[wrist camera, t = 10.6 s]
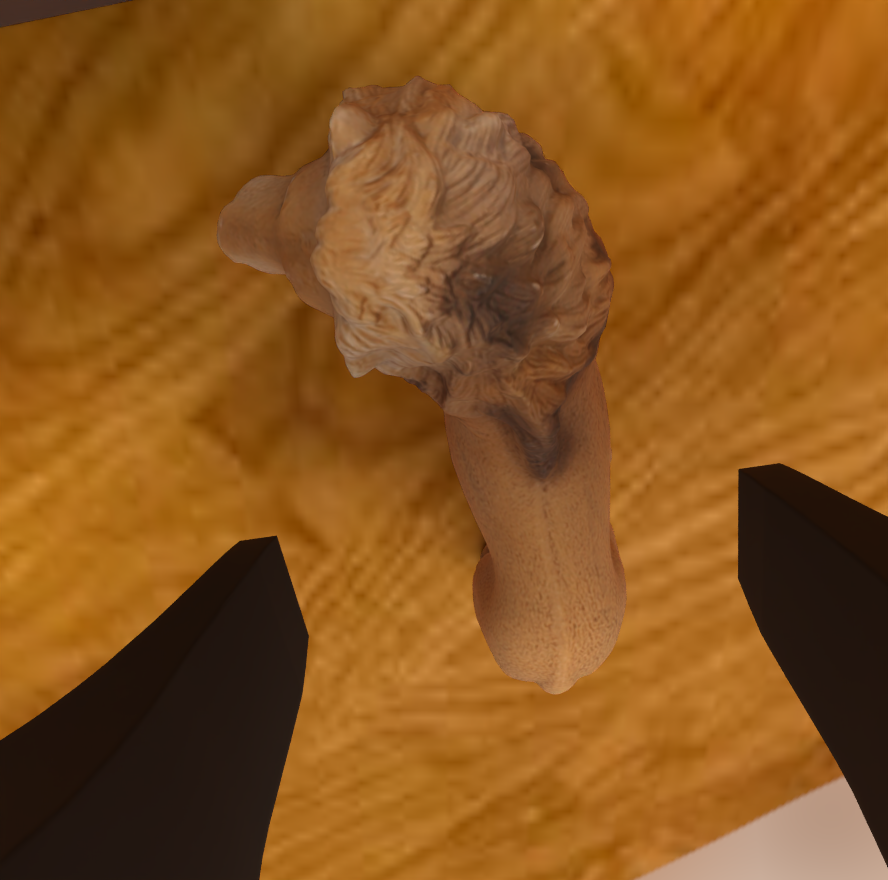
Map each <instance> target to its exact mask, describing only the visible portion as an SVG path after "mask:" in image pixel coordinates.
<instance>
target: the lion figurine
mask: <svg viewBox="0 0 888 880" xmlns="http://www.w3.org/2000/svg"><path fill="white" fill-rule="evenodd" d="M343 98H344V100H342V101H341V102H340V104H339V106H337V107H335V109H334V111H333V114H332V116H331V118H330V123H329V128H330V131H329V134H328V144H329V149H328V150H327V152H326V153H325V154H324V155H323V156H322V157H321V158H319V159H317V160H315V161H313V162H310V163H308V164H306V165H304V166H303V167H301V168H300V169H299V170H298V171H297V172H296V173H295V174H294V175H289V176H275V175H264V176H258V177H255V178H253V179H252V180H250V181H249V182H248V183H246V184H245V185H244V186H243V187H242V188H241V190H240V191H239V192H238V193H237V195H236V197H235V198H234V200H233V201H232V202H230V203H229V204H227V205H226V206H225V207H224V208H223V210H222V211H221V213H220V216H219V220H218V225H217V240H218V244H219V247H220V248H221V249H222V251H223V252H224V254H225V255H227V256H228V257H229V258H230V259H231V260H232V261H234V262H236V263H243V264H247V265H249V266H251V267H253V268H255V269H257V270H259V271H263V272H266V273H270V274H286V277H287V278H288V279H289V281H290V282H291V283H292V285H293V288H294V290H295V292H296V294H297V295H298V296H299V298H300V299H301V300H302V301H304V302H305V303H306V304H308V305H309V306H311V307H313V308H315V309H317V310H319V311H322V312H324V313H326V314H328V315H330V316H332V317H333V318H334V322H335V341H336V344H337V347H338V348H339V350H340V352H341V353H342V354H343V355H344V357H345V363H346V366H347V368H348V370H349V371H350V373H351V375H352V376H353V377H354V378H356V377H361V376H363V375H365V374H366V373H368V372H369V371H371V370H372V369H373V368H376V369H378V370H379V371H380V372H382V373H384V374H387V375H393V376H398V377H402V378H404V379H405V380H406V381H407V382H409V383H411V384H414V385H416V386H417V387H418V388H419V389H420V390H421V391H422V392H424V393H426V394H428V395H429V396H430V397H431V398H432V399H433V400H434V401H436V402H437V403H438V404H439V406H440V407H441V408H442V409H443V410H444V417H445V428H446V433H447V439H448V444H449V449H450V454H451V458H452V462H453V465H454V468H455V471H456V473H457V476H458V479H459V482H460V484H461V487H462V490H463V493H464V495H465V497H466V499H467V502H468V504H469V506H470V509H471V511H472V513H473V516H474V518H475V520H476V522H477V524H478V527H479V529H480V531H481V533H482V535H483V537H484V539H485V541H486V543H487V545H486V546H485V548H484V550H483V551H482V553H481V556H480V561H479V563H478V564H477V567H476V571H475V573H474V576H473V601H474V608H475V613H476V617H477V620H478V622H479V625H480V627H481V629H482V632H483V634H484V637H485V639H486V642H487V644H488V646H489V648H490V650H491V652H492V654H493V656H494V658H495V660H496V662H497V663H498V665H499V666H500V668H501V669H502V670H503V672H504V673H505V674H506V675H508V676H510V677H512V678H514V679H518V680H523V681H532V682H535V683H537V684H538V685H539V686H540V687H541V688H542V689H543V690H545V691H546V692H548V693H551V694H560V693H562V692H565V691H567V690H568V689H569V688H571V687H572V686H573V685H574V684H575V682H576V681H577V680H578V679H579V678H580V677H583V676H586V675H589V674H591V673H592V672H594V671H595V670H596V669H597V668H598V667H599V666H600V665H601V664H602V663H603V662H604V661H605V659H606V658H607V657H608V655H609V654H610V653H611V651H612V649H613V647H614V645H615V643H616V641H617V637H618V634H619V631H620V627H621V624H622V620H623V616H624V611H625V605H626V583H625V576H624V569H623V565H622V562H621V559H620V556H619V551H618V547H617V544H616V540H615V535H614V531H613V528H612V526H611V524H610V522H609V517H610V462H611V459H612V450H611V447H610V426H609V419H608V412H607V405H606V399H605V393H604V388H603V384H602V379H601V376H600V373H599V369H598V366H597V362H596V360H595V359H596V355H597V351H598V347H599V339H600V336H601V334H602V332H603V330H604V329H605V327H606V322H607V317H608V312H609V307H610V301H611V297H612V293H613V288H614V281H613V276H612V274H611V272H610V267H611V260H610V258H609V257H608V255H607V251H606V249H605V247H604V244H603V242H602V240H601V238H600V237H599V236H598V235H597V234H596V233H595V232H594V230H593V226H592V223H591V221H590V218H589V216H588V212H589V207H588V204H587V202H586V200H585V199H584V198H583V196H582V195H580V194H579V193H578V192H576V191H575V190H574V189H573V188H572V186H571V185H570V184H569V182H568V181H567V180H566V177H565V175H564V173H563V171H562V170H561V169H560V168H559V166H558V165H557V164H556V163H555V161H552V160H548V159H545V158H544V156H543V152H542V148H541V146H540V144H539V143H537V142H536V141H535V140H534V139H532V138H531V137H530V136H528V135H527V134H524V133H519V132H518V130H517V128H516V125H515V121H514V120H513V119H512V118H511V117H510V116H509V115H508V114H505V113H500V112H488V111H486V112H483V111H482V110H481V109H480V108H478V107H477V106H476V105H475V104H474V103H472V102H471V101H469V100H467V99H466V98H464V97H463V96H461V95H459V94H458V93H457V92H456V91H455V90H454V89H453V88H452V86H451V85H436V84H434V83H431V82H429V81H426V80H425V79H423V78H421V77H420V76H415V77H414V78H413V79H412V80H410V81H409V82H408V83H407V84H406V85H405V86H403V87H389V88H382V87H380V86H378V85H370V86H366V87H360V88H348V89H346V90H344V91H343Z"/></svg>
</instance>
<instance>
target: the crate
mask: <svg viewBox="0 0 888 880" xmlns="http://www.w3.org/2000/svg"><path fill="white" fill-rule="evenodd" d="M126 1H131V0H0V27H4V26H9V25H14V24H19V23H23V22H28V21H33V20H38V19H43V18H48V17H53V16H58V15H63V14H68V13H72V12H77V11H82V10H87V9H92V8H97V7H102V6H107V5H112V4H117V3H121V2H126Z"/></svg>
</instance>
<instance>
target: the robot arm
mask: <svg viewBox="0 0 888 880" xmlns="http://www.w3.org/2000/svg"><path fill="white" fill-rule="evenodd" d="M738 579H739V582H740V584H741V587H742V589H743V592H744V594H745V597H746V599H747V602H748V604H749V607H750V609H751V611H752V614H753V616H754V618H755V621H756V623H757V625H758V627H759V630H760V632H761V634H762V636H763V638H764V640H765V641H766V643H767V645H768V647H769V648H770V650H771V652H772V654H773V655H774V657H775V659H776V660H777V662H778V664H779V666H780V667H781V669H782V671H783V672H784V674H785V676H786V678H787V679H788V681H789V683H790V684H791V686H792V688H793V689H794V691H795V693H796V694H797V696H798V698H799V699H800V701H801V703H802V704H803V706H804V708H805V709H806V711H807V713H808V715H809V716H810V718H811V720H812V721H813V723H814V725H815V726H816V728H817V730H818V731H819V733H820V735H821V736H822V738H823V740H824V741H825V743H826V745H827V746H828V748H829V750H830V751H831V753H832V755H833V757H834V758H835V760H836V762H837V763H838V765H839V767H840V769H841V771H842V773H843V775H844V776H845V778H846V780H847V782H848V784H849V786H850V788H851V789H852V791H853V793H854V796H855V798H856V800H857V802H858V804H859V806H860V809H861V810H862V813H863V815H864V817H865V819H866V821H867V824H868V826H869V828H870V830H871V832H872V834H873V836H874V838H875V841H876V843H877V845H878V847H879V849H880V852H881V854H882V856H883V858H884V860H885V863H886V865H887V867H888V517H887V516H885V515H883V514H881V513H879V512H877V511H875V510H873V509H871V508H869V507H867V506H865V505H863V504H861V503H859V502H857V501H855V500H853V499H851V498H849V497H847V496H845V495H843V494H842V493H840V492H838V491H836V490H834V489H832V488H830V487H828V486H826V485H824V484H822V483H820V482H818V481H816V480H814V479H812V478H810V477H808V476H806V475H804V474H802V473H800V472H798V471H796V470H794V469H792V468H790V467H788V466H785V465H783V464H780V463H778V464H771V465H764V466H757V467H750V468H743V469H739V480H738ZM308 638H309V635H308V632H307V629H306V626H305V623H304V619H303V616H302V613H301V610H300V607H299V604H298V601H297V598H296V594H295V591H294V588H293V585H292V582H291V579H290V576H289V573H288V569H287V566H286V563H285V560H284V557H283V554H282V551H281V548H280V545H279V541H278V538H277V536H271V537H264V538H257V539H250V540H244V541H239V542H238V543H237V544H236V545H234V546H233V547H232V548H231V549H230V550H228V551H227V552H226V553H225V554H224V555H223V556H222V557H221V558H220V559H219V560H218V561H217V562H215V563H214V564H213V565H212V566H211V567H210V568H209V569H208V570H207V571H206V572H205V573H204V574H203V575H202V576H201V577H200V578H199V579H198V580H197V581H196V582H195V583H194V584H193V585H192V586H191V587H190V588H189V589H187V590H186V591H185V592H184V593H183V594H182V595H181V596H180V597H179V598H178V599H177V600H176V601H175V602H174V603H173V604H172V605H171V606H170V607H169V608H168V609H167V610H165V611H164V612H163V613H162V614H161V615H160V616H159V617H158V618H157V619H156V620H155V621H154V622H153V623H151V624H150V625H149V626H148V627H147V628H146V629H145V630H144V631H142V632H141V633H140V634H139V635H138V636H137V637H136V638H134V639H133V640H132V641H131V642H130V643H129V644H128V645H126V646H125V647H124V648H123V649H122V650H121V651H120V652H119V653H117V654H116V655H115V656H114V657H113V658H112V659H111V660H109V661H108V662H107V663H106V664H105V665H104V666H102V667H101V668H100V669H99V670H97V671H96V672H95V673H94V674H93V675H91V676H90V677H89V678H87V679H86V680H85V681H84V682H82V683H81V684H80V685H79V686H77V687H76V688H75V689H73V690H72V691H71V692H69V693H68V694H67V695H65V696H64V697H63V698H61V699H60V700H58V701H57V702H56V703H54V704H53V705H52V706H50V707H49V708H48V709H46V710H45V711H44V712H42V713H41V714H39V715H38V716H37V717H35V718H34V719H32V720H31V721H29V722H28V723H26V724H25V725H23V726H22V727H20V728H19V729H17V730H16V731H14V732H12V733H11V734H9V735H8V736H6V737H5V738H3V739H2V740H0V880H259V877H260V870H261V864H262V857H263V852H264V847H265V843H266V838H267V833H268V828H269V824H270V820H271V816H272V812H273V808H274V804H275V801H276V797H277V793H278V789H279V785H280V781H281V777H282V773H283V769H284V765H285V762H286V758H287V754H288V750H289V746H290V742H291V738H292V734H293V730H294V726H295V722H296V718H297V714H298V710H299V706H300V701H301V697H302V693H303V685H304V677H305V669H306V659H307V648H308Z"/></svg>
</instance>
